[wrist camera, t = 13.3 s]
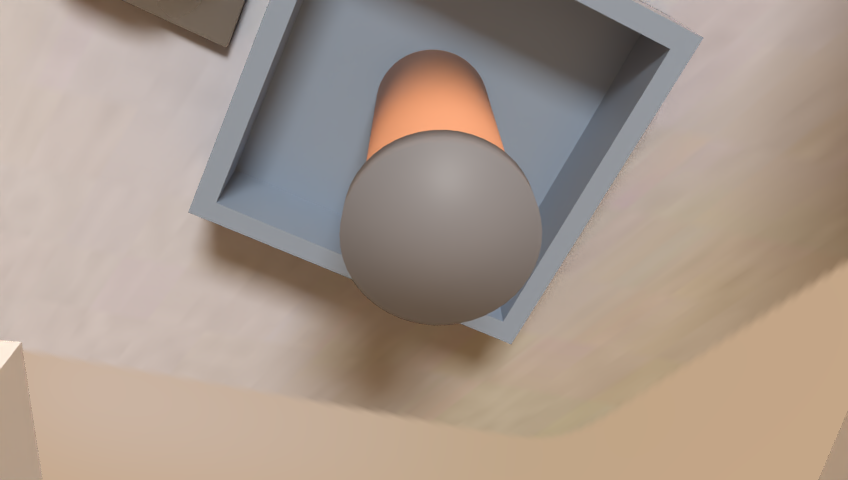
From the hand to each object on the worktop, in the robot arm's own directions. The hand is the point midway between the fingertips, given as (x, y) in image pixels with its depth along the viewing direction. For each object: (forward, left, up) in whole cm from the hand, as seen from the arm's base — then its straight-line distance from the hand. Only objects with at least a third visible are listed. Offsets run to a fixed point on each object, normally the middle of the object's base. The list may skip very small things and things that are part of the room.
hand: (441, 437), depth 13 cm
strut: (0, 0, -20) cm, 20 cm away
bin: (0, 0, -21) cm, 21 cm away
